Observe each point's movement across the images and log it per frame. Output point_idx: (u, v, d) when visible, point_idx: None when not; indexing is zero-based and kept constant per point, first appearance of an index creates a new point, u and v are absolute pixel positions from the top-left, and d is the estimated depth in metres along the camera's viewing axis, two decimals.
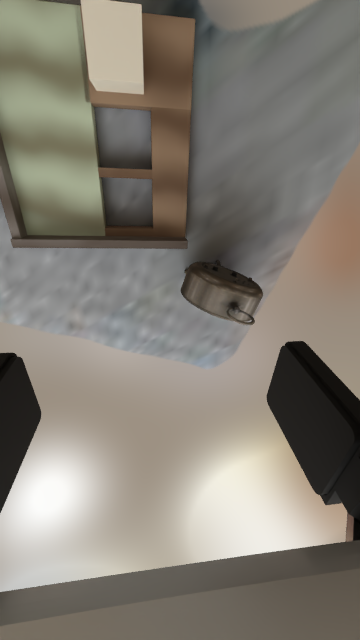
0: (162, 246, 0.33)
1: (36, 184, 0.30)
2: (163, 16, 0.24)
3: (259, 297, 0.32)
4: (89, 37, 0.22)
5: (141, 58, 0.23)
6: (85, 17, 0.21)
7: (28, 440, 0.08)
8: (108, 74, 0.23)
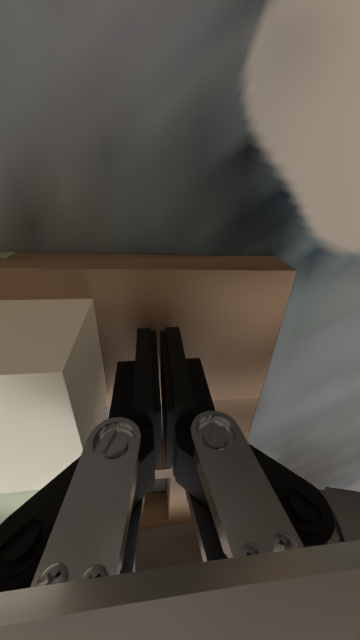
0: None
1: None
2: (218, 272, 0.09)
3: None
4: None
5: (79, 455, 0.08)
6: None
7: None
8: None
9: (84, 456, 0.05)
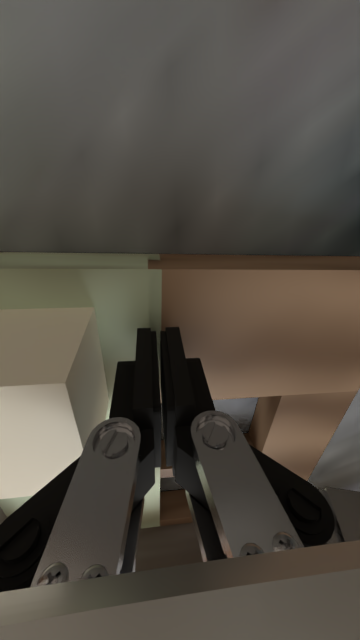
0: None
1: None
2: (356, 272, 0.10)
3: None
4: None
5: None
6: None
7: None
8: None
9: (84, 456, 0.05)
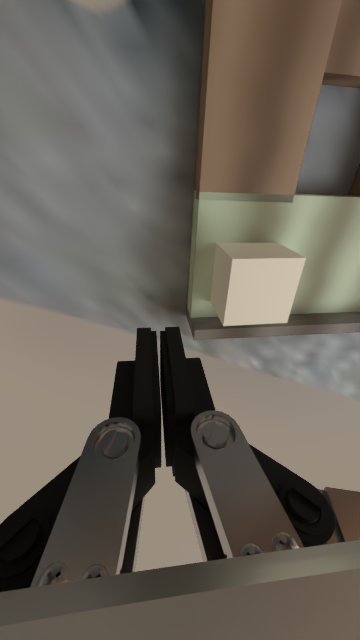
0: None
1: (353, 288, 0.23)
2: (212, 23, 0.13)
3: None
4: (254, 319, 0.18)
5: (281, 260, 0.16)
6: (238, 322, 0.18)
7: None
8: (288, 302, 0.18)
9: (84, 456, 0.05)
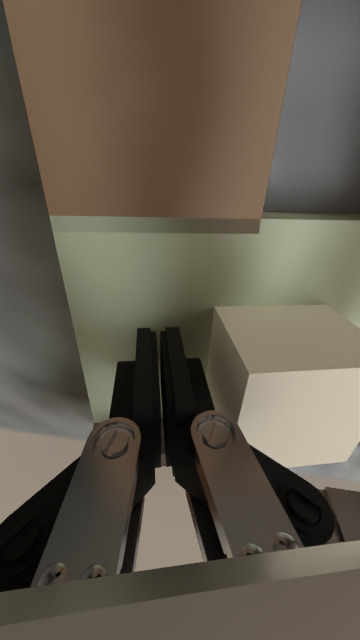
0: None
1: None
2: None
3: None
4: (285, 462, 0.09)
5: (356, 371, 0.07)
6: None
7: None
8: (354, 434, 0.09)
9: (84, 456, 0.05)
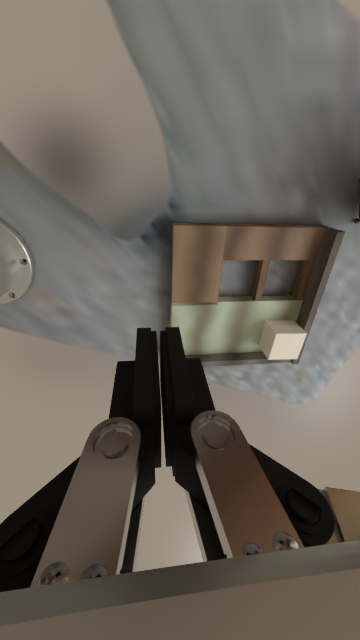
0: (334, 257, 0.34)
1: (258, 340, 0.43)
2: (173, 249, 0.33)
3: None
4: (282, 357, 0.40)
5: (296, 334, 0.38)
6: (275, 358, 0.40)
7: None
8: (298, 350, 0.40)
9: (84, 456, 0.05)
